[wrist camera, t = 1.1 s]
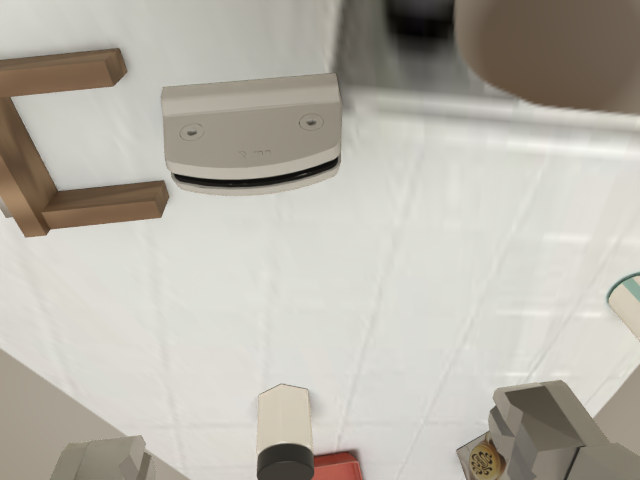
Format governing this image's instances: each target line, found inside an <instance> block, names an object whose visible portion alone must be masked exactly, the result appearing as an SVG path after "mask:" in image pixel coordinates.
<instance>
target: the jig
mask: <svg viewBox="0 0 640 480" xmlns="http://www.w3.org/2000/svg"><path fill="white" fill-rule="evenodd" d="M126 73H127V70H126V67H125V64H124V61H123V58H122V55H121V52H120V49H119V48H117V49H107V50H97V51H87V52H77V53H67V54H57V55H47V56H37V57H27V58H17V59H7V60H0V209H1V210H2V212H3V214H4V215H5V217H6V218H9V217H13V218H14V219H15V221H16V223H17V224H18V226H19V228H20V229H21V231H22V232H23V234H24V236H25V237H35V236H44V235H47V233H48V232H49V231H50V229H59V228H68V227H78V226H87V225H97V224H106V223H116V222H125V221H135V220H144V219H154V218H161V217H162V214H163V211H164V209H165V206H166V204H167V201H168V199H169V195H168V192H167V189H166V186H165V183H164V181H154V182H145V183H135V184H125V185H116V186H106V187H97V188H87V189H77V190H68V191H57V189H56V187H55V185H54V183H53V181H52V179H51V177H50V175H49V173H48V171H47V169H46V167H45V165H44V163H43V161H42V159H41V157H40V155H39V153H38V152H37V150H36V148H35V146H34V144H33V142H32V140H31V138H30V136H29V134H28V132H27V130H26V128H25V126H24V124H23V122H22V120H21V118H20V116H19V114H18V113H17V111H16V109H15V107H14V105H13V103H12V101H11V99H10V97H13V96H23V95H32V94H42V93H52V92H62V91H72V90H82V89H92V88H102V87H112V86H114V85H115V84H116V83H117V82H118V81H119V80H120V79H121V78H122V77H123V76H124V75H125V74H126Z"/></svg>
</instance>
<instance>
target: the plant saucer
mask: <svg viewBox="0 0 640 480" xmlns="http://www.w3.org/2000/svg"><path fill="white" fill-rule="evenodd" d="M314 472H315V473H314V476H313V478H312V479H311V480H363V479H362V474H361V469H360V465H359V462H358V461H357V460H356V459H355V458H354V457H353V456H352V455H350V454H349V453H347V452H344V453H337V454H331V455H325V456H318V457H314Z"/></svg>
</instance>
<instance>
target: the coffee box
mask: <svg viewBox="0 0 640 480" xmlns="http://www.w3.org/2000/svg"><path fill="white" fill-rule="evenodd" d="M457 454H458V457H459V459H460V462H461V465H462V468H463V471H464V474H465V477H466V480H511V478H510V476H509V474H508V472H507V469H508V463H509V460H508V459H506V458H505V457H504V456H502V455H501V454H500V453H498V451H497V449H496V447H495V445H494V443H493V440H492V437H491V434H490V431H489V432H487V433H485V434H484V435H482V436H480V437H479V438H477V439H475V440H474V441H472V442H470V443H469V444H467V445H465V446H463V447H462V448H460V449H458V450H457Z"/></svg>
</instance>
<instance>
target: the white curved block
mask: <svg viewBox="0 0 640 480" xmlns="http://www.w3.org/2000/svg"><path fill="white" fill-rule="evenodd" d="M161 104H162V112H163V127H164V153H165V161H166V166H167V168H168V170H169V171H170V172H171V177H172V179H173V180H174V182H175V183H176V184H177V185H178V186H179V187H180V188H181V189H183V190H186V191H191V192H196V193H203V194H210V195H221V196H252V195H263V194H272V193H278V192H284V191H289V190H293V189H298V188H301V187H305V186H309V185H312V184H315V183H318V182H321V181H323V180H326V179H328V178H331V177H333V176H335V175H336V174H337V172H338V169H339V166H340V163H341V127H342V101H341V96H340V92H339V87H338V81H337V76H336V73H330V74H318V75H306V76H293V77H281V78H269V79H257V80H245V81H233V82H220V83H208V84H196V85H184V86H172V87H163V89H162V95H161Z"/></svg>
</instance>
